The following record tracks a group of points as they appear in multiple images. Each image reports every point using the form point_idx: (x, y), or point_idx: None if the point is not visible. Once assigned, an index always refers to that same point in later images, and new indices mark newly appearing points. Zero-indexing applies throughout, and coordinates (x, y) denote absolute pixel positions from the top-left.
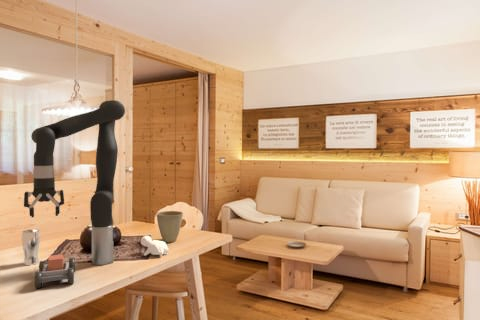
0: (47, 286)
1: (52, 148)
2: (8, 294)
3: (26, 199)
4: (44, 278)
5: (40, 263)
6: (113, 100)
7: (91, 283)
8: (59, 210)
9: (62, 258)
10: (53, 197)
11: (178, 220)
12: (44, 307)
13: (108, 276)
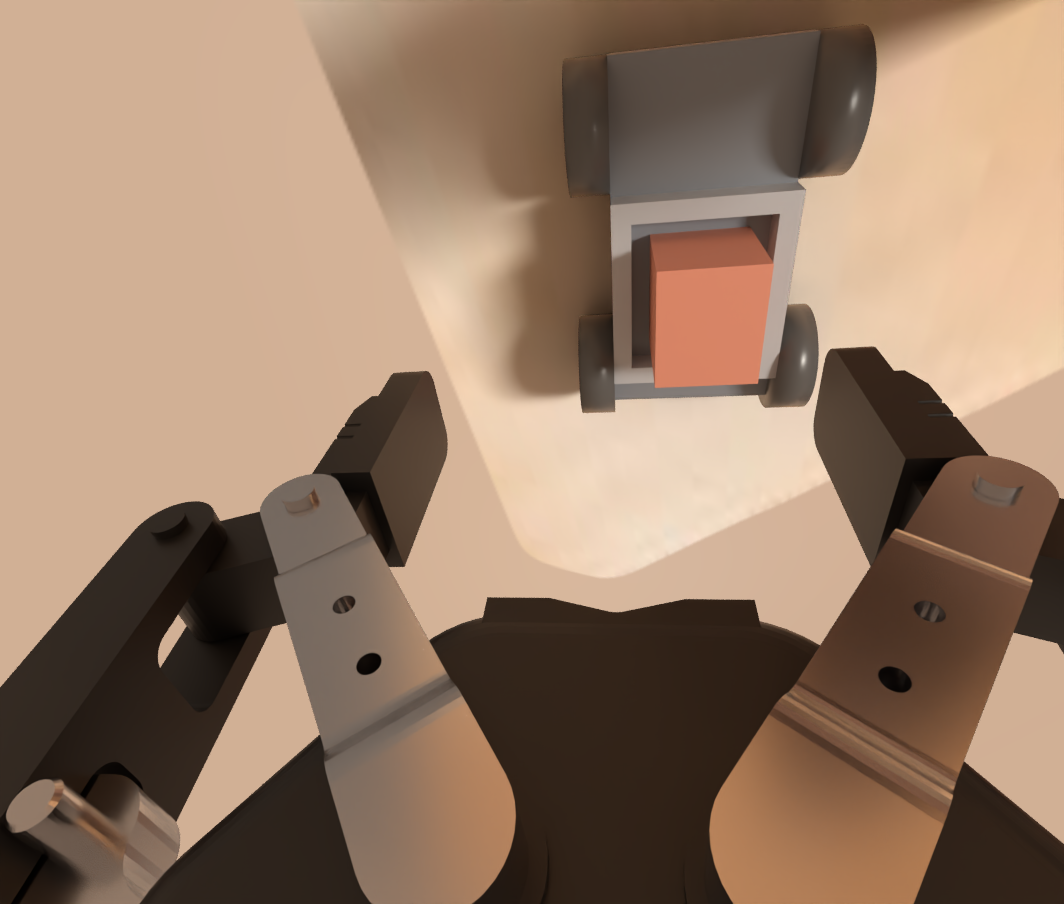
0: None
1: None
2: (470, 385)
3: (175, 776)
4: (633, 398)
5: (575, 172)
6: None
7: None
8: (942, 422)
9: (757, 379)
10: (971, 694)
11: None
12: (651, 547)
13: (1029, 289)
